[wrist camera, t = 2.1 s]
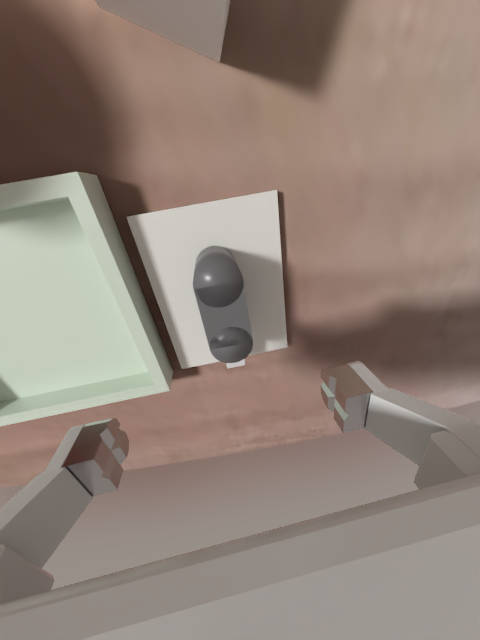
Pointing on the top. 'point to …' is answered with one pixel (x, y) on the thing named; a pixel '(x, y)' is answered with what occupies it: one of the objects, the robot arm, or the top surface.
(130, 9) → the white cube
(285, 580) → the robot arm
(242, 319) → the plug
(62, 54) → the top surface
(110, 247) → the tray
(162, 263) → the mat
